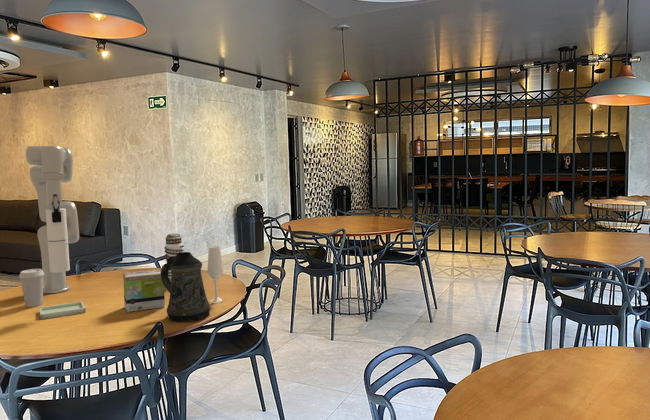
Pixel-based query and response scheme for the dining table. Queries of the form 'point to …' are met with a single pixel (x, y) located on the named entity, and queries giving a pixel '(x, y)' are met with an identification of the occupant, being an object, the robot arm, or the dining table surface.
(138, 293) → the tea box
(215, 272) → the champagne flute
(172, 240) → the decorative candle
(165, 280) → the beer stein
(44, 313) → the tray
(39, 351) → the dining table surface
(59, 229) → the cylindrical container
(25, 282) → the coffee cup
